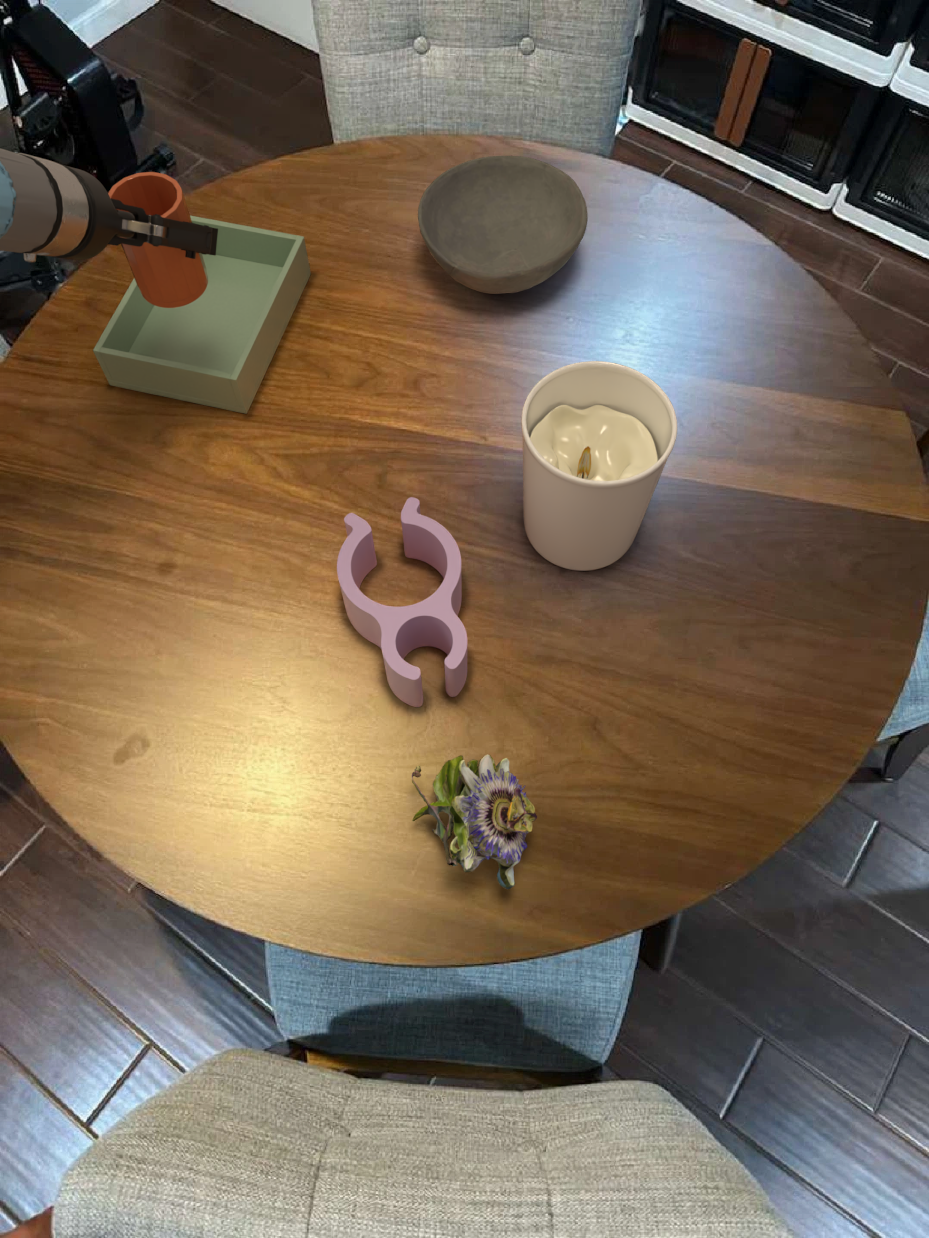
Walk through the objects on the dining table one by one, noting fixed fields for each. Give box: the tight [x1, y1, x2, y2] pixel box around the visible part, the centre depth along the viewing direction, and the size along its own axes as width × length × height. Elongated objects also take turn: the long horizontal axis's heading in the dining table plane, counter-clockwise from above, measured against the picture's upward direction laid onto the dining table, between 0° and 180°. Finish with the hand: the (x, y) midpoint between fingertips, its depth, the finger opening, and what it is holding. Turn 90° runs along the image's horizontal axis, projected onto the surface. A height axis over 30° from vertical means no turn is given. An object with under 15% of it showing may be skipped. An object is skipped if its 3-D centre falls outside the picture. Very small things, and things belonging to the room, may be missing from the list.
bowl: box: [417, 155, 589, 295], centre depth 122 cm, size 21×21×8 cm
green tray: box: [92, 215, 312, 415], centre depth 118 cm, size 18×24×6 cm
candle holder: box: [520, 360, 678, 572], centre depth 99 cm, size 15×15×18 cm
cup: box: [108, 171, 208, 308], centre depth 100 cm, size 7×7×11 cm
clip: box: [336, 496, 468, 708], centre depth 99 cm, size 20×12×7 cm, turn 17°
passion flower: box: [411, 754, 538, 890], centre depth 89 cm, size 11×11×12 cm
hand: (177, 234), depth 103 cm, fingers closed on cup, 7 cm apart
